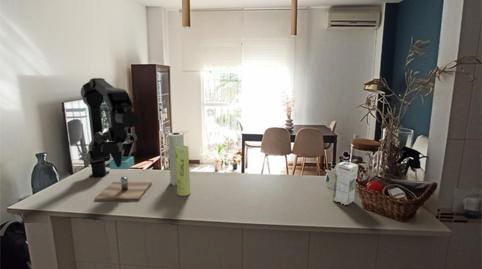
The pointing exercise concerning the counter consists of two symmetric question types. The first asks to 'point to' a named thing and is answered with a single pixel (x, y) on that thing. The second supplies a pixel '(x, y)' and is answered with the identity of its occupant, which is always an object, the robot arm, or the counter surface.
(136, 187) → the base plate
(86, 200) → the counter surface
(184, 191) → the tube
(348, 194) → the syrup box
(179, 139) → the paper towel roll
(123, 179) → the post
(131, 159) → the ring
